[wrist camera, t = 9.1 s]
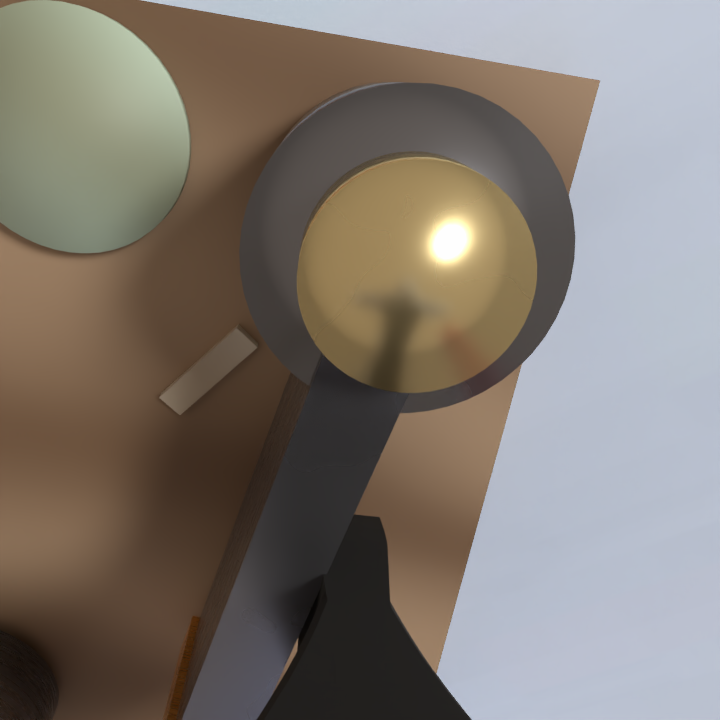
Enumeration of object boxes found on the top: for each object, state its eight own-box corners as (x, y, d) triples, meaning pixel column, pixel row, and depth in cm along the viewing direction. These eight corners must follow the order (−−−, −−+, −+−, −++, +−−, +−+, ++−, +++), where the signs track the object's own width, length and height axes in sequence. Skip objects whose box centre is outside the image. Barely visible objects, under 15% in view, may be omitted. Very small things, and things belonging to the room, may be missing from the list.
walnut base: (399, 730, 18) (406, 796, 16) (-237, 694, 16) (-300, 764, 15) (566, 80, 11) (607, 80, 10) (-480, -101, 10) (-646, -139, 8)
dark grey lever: (309, 37, 9) (300, 12, 6) (551, 140, 10) (672, 172, 7) (124, 630, 14) (55, 819, 10) (302, 670, 14) (294, 859, 11)
